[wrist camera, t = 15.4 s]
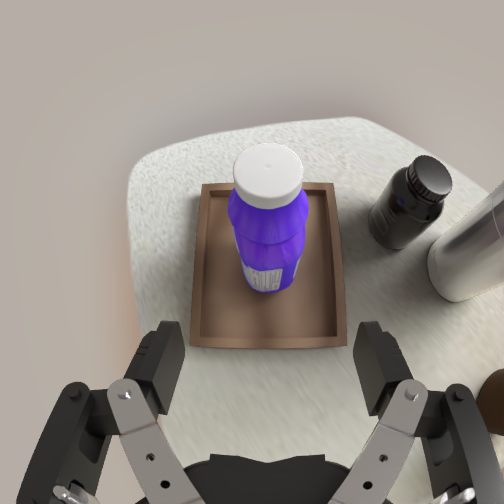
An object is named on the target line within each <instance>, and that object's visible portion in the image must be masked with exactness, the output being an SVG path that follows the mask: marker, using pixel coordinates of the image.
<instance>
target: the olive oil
mask: <svg viewBox="0 0 504 504" xmlns="http://www.w3.org/2000/svg"><path fill="white" fill-rule="evenodd" d="M477 406H478V408H479V411H480V413H481V416H482V418H483V420H484V423H485V426H486V428H487V431H488V432H490V433H494V434H498V435H501V436H504V369H500V370H497V371H496V372H494V373H493V374H492V375H491V376H490V377H489V378H488V379H487V381H486V382H485V384H484V386H483V387H482V389H481V392H480V394H479V397H478V401H477Z"/></svg>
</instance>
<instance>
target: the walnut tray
mask: <svg viewBox="0 0 504 504" xmlns="http://www.w3.org/2000/svg"><path fill="white" fill-rule="evenodd" d="M234 187H235V185H234V183H215V184H202V190H201V199H200V208H199V218H198V228H197V239H196V250H195V263H194V276H193V291H192V308H191V329H190V346H197V347H216V348H254V349H279V348H317V347H336V346H347V327H346V304H345V287H344V274H343V261H342V250H341V240H340V231H339V222H338V214H337V206H336V199H335V192H334V185H333V183H311V182H302V189H303V190H304V192H305V193H306V196H307V198H308V204H309V210H308V217H307V220H306V223H305V244H304V249H303V252H302V255H301V258H300V261H299V264H298V267H297V271H296V275H295V278H294V280H293V282H292V284H291V285H290V286H289V287H287V288H285V289H283V290H280V291H278V292H272V293H266V292H258V291H255V290H254V289H252V288H251V287H250V286H249V285H248V283H247V281H246V279H245V277H244V274H243V269H242V263H241V257H240V254H239V252H238V250H237V247H236V243H235V239H234V234H233V227H232V223H231V221H230V219H229V216H228V201H229V197H230V195H231V192H232V190H233V188H234Z"/></svg>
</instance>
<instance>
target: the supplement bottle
mask: <svg viewBox="0 0 504 504" xmlns="http://www.w3.org/2000/svg"><path fill="white" fill-rule="evenodd" d="M451 189H452V178H451V176H450V174H449V172H448V170H447V169H446V167H445V166H444V165H443V164H442V163H440V162H439V161H438V160H436V159H435V158H433V157H430V156H426V155H424V156H423V155H421V156H418V157H417V158H415V160H414V161H413V162H412V164H411V165H410V166H409V167H404V168H401V169H399V170H398V171H397V172H395V174H394V175H393V176H392V178H391V179H390V181H389V183H388V184H387V186H386V188H385V189H384V191H383V192H382V194H381V195H380V197H379V199H378V200H377V202H376V203H375V205H374V206H373V208H372V210H371V212H370V215H369V226H370V229H371V232H372V234H373V236H374V237H375V238H376V240H377V241H378V242H379V243H381V244H382V245H384V246H385V247H387V248H390V249H402V248H405V247H407V246H408V245H410V244H411V243H412V242H413V241H414V240H415V239H416V238H418V237H419V236H420V235H421V234H422V233H423V232H424V231H425V230H426V229H427V228H429V227H430V226H431V225H432V224H433V223H434V222H435V221H436V220H437V219H438V218H439V217H440V215H441V214H442V212H443V209H444V199H445V198H446V196H447V195H448V194H449V193H450V191H451Z"/></svg>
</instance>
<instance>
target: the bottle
mask: <svg viewBox="0 0 504 504" xmlns="http://www.w3.org/2000/svg"><path fill="white" fill-rule="evenodd" d="M233 177H234V185H235V187H234V188H233V190H232V192H231V195H230V197H229V201H228V216H229V219H230V221H231V223H232V227H233V234H234V239H235V243H236V247H237V250H238V252H239V254H240V257H241V263H242V269H243V274H244V277H245V279H246V281H247V283H248V285H249V286H250V287H251V288H252V289H254V290H255V291H258V292H266V293H272V292H278V291H280V290H283V289H285V288H287V287H289V286H290V285H291V284H292V282H293V280H294V278H295V275H296V271H297V267H298V264H299V261H300V258H301V255H302V252H303V249H304V244H305V223H306V220H307V217H308V210H309V204H308V198H307V196H306V193H305V192H304V190H303V189H302V178H303V165H302V162H301V160H300V159H299V157H298V156H297V155H296V154H295V153H294V152H293V151H292V150H291V149H289V148H287V147H285V146H283V145H280V144H276V143H260V144H256V145H253V146H250V147H249V148H247V149H245V150H244V151H243V152H241V153H240V154H239V156H238V157H237V159H236V161H235V162H234V166H233Z"/></svg>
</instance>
